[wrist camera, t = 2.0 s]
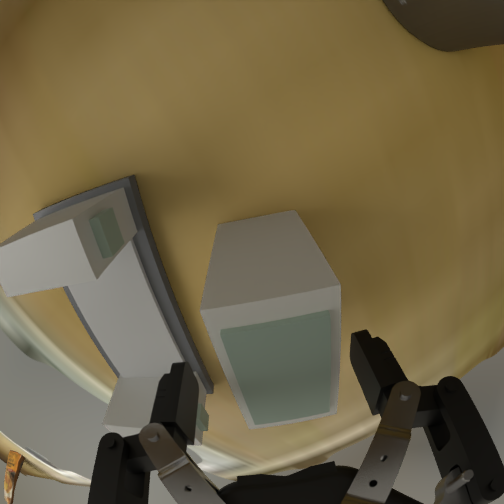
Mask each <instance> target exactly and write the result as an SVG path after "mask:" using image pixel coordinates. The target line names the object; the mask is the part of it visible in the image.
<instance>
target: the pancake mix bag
mask: <svg viewBox="0 0 504 504" xmlns="http://www.w3.org/2000/svg"><path fill="white" fill-rule="evenodd" d="M24 459H25V458H24V457H23V456H22V455H20V454H19V453H17V452H15V451H12V450H10V452H9V456H8V461H7V467H6V473H5V482H4V490H5V500H6V502H7V503H8V504H12V503H13V497H14V490H15V486H16V482H17V479H18V476H19V473H20V470H21V468H22V465H23V462H24Z"/></svg>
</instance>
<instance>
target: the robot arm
mask: <svg viewBox="0 0 504 504" xmlns="http://www.w3.org/2000/svg"><path fill="white" fill-rule="evenodd" d="M383 1H384V3H385V4H386V6H387V7H388V9H389V10H390V11H391V13H392V14H393V15H394V16H395V17H396V19H397V20H398V21H399V22H400V23H401V24H402V25H403V26H404V27H405V28H406V29H407V30H408V31H409V32H411V33H412V34H413V35H414V36H416V37H417V38H418V39H419V40H421V41H423V42H424V43H426V44H427V45H429V46H431V47H434V48H436V49H438V50H442V51H446V52H451V51H459V50H464V49H470V48H476V47H483V46H492V45H501V44H504V0H383ZM350 360H351V364H352V367H353V369H354V372H355V374H356V376H357V379H358V381H359V383H360V386H361V388H362V390H363V393H364V395H365V398H366V400H367V403H368V405H369V408H370V410H371V413H372V415H376V414H380V416H381V418H382V419H381V421H380V424H379V426H378V429H377V431H376V434H375V436H374V438H373V441H372V443H371V445H370V448H369V450H368V452H367V454H366V457H365V458H364V461H363V463H362V465H361V467H360V469H359V470H358V469H356V468H353V467H348V466H335V462H334V461H333V462H328V463H324V464H319V465H315V466H310V467H308V468H306V469H303V470H301V471H299V472H296V473H294V474H291V475H289V476H276V475H264V474H257V475H246V476H237V481H236V482H233V483H231V484H228V485H226V486H224V487H223V488H221V489H220V490H219V489H218V488H217V487H216V485H215V484H214V483H213V482H212V481H211V480H209V478H208V477H207V476H206V475H205V474H204V473H203V471H202V470H201V469H200V468H199V467H198V466H197V464H196V463H195V462H194V461H193V460H192V458H191V457H190V456H189V454H188V453H187V452H186V448H187V445H194V441H195V429H196V418H197V408H198V398H199V384H198V381H197V379H196V377H195V375H194V373H193V371H192V369H191V367H190V365H189V363H188V362H177V363H172V365H171V370H170V373H165V374H164V375H163V376H162V378H161V379H160V381H159V383H158V387H157V391H156V396H155V397H156V398H155V400H154V404H153V409H152V413H151V418H150V422H149V424H148V425H146V426H144V427H143V428H142V429H141V431H140V433H138V434H135V435H131V436H126V437H122V436H121V435H120V434H118V433H115V432H111V433H107V434H105V435H104V436H103V437H102V438H101V440H100V442H99V447H98V451H97V455H96V460H95V465H94V470H93V475H92V480H91V486H90V492H89V498H88V504H148V495H149V482H150V471H152V470H158V472H159V473H158V476H159V478H160V480H161V481H162V483H163V484H164V486H165V487H166V488H167V490H168V491H169V493H170V494H171V495H172V497H173V498H174V499H175V501H176V502H177V503H178V504H423V503H421V502H419V501H417V500H415V499H413V498H411V497H409V496H406V495H404V494H403V493H400V492H398V491H397V490H395V489H393V488H392V486H393V484H394V482H395V479H396V477H397V474H398V472H399V469H400V467H401V464H402V462H403V459H404V456H405V453H406V451H407V448H408V445H409V442H410V438H411V429H412V428H416V427H423V428H424V431H425V433H426V435H427V438H428V441H429V443H430V446H431V449H432V452H433V454H434V457H435V460H436V463H437V466H438V468H439V471H440V474H441V477H442V479H441V480H440V481H439V483H438V484H437V486H436V488H435V502H434V504H488V503H490V502H492V501H494V500H495V499H497V498H499V497H500V496H501V495H502V494H503V493H504V466H503V464H502V461H501V458H500V456H499V454H498V451H497V449H496V447H495V445H494V443H493V440H492V438H491V436H490V434H489V432H488V430H487V428H486V426H485V424H484V422H483V420H482V418H481V416H480V414H479V412H478V410H477V408H476V406H475V405H474V403H473V401H472V400H471V397H470V396H469V394H468V392H467V390H466V389H465V387H464V385H463V383H462V382H461V381H460V380H459V379H458V378H456V377H453V376H448V377H444V378H442V379H441V380H440V381H439V383H438V385H432V386H418V385H417V384H415V383H414V382H411V381H409V380H408V379H407V378H406V376H405V374H404V372H403V371H402V369H401V367H400V365H399V364H398V362H397V360H396V358H395V357H394V355H393V353H392V352H391V351H390V348H389V347H388V345H387V343H386V342H385V341H383V340H382V339H381V338H379V337H375V338H372V337H371V335H370V334H369V332H368V330H362V331H358V332H354V333H352V334H351V345H350Z"/></svg>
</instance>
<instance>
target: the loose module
mask: <svg viewBox="0 0 504 504" xmlns="http://www.w3.org/2000/svg"><path fill="white" fill-rule="evenodd" d="M200 313H201V315H202V318H203V321H204V323H205V326H206V329H207V331H208V334H209V336H210V339H211V342H212V344H213V347H214V349H215V352H216V354H217V357H218V359H219V362H220V364H221V366H222V369H223V371H224V374H225V376H226V378H227V381H228V383H229V385H230V388H231V390H232V392H233V395H234V397H235V399H236V401H237V404H238V406H239V408H240V410H241V412H242V415H243V417H244V419H245V421H246V423H247V425H248V427H249V429H256V428H264V427H272V426H278V425H285V424H291V423H296V422H302V421H307V420H312V419H316V418H321V417H325V416H329V415H334V414H337V403H338V389H339V373H340V349H341V284H340V282H339V281H338V279H337V277H336V275H335V274H334V272H333V270H332V269H331V267H330V265H329V264H328V262H327V260H326V259H325V257H324V255H323V254H322V252H321V250H320V249H319V247H318V245H317V244H316V242H315V241H314V239H313V237H312V236H311V234H310V232H309V231H308V229H307V228H306V226H305V224H304V223H303V221H302V220H301V218H300V217H299V215H298V213H297V212H296V210H292V211H286V212H280V213H275V214H270V215H264V216H259V217H254V218H249V219H243V220H238V221H233V222H228V223H223V224H218V226H217V231H216V235H215V240H214V244H213V249H212V253H211V258H210V263H209V267H208V272H207V277H206V282H205V287H204V292H203V297H202V302H201V307H200Z"/></svg>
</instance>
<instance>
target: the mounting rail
mask: <svg viewBox="0 0 504 504" xmlns="http://www.w3.org/2000/svg"><path fill="white" fill-rule="evenodd" d="M33 216H34V219H35V221H34V222H33V223H31V224H29V225H28V226H26V227H25V228H23V229H22V230H20V231H19V232H17V233H15V234H14V235H12V236H11V237H10V238H8V239H7V240H5V241H4V242H2V243H1V244H0V284H1V286H2V288H3V290H4V292H5V294H6V296H7V297H11V296H17V295H22V294H27V293H32V292H38V291H43V290H48V289H53V288H58V287H63V288H64V290H65V292H66V294H67V296H68V298H69V300H70V302H71V304H72V306H73V308H74V309H75V311H76V313H77V315H78V317H79V318H80V320H81V322H82V324H83V325H84V327H85V329H86V330H87V332H88V334H89V335H90V337H91V339H92V340H93V342H94V343H95V345H96V346H97V348H98V350H99V351H100V353H101V354H102V356H103V357H104V359H105V360H106V362H107V363H108V365H109V366H110V367H111V369H112V370H113V372H114V373H115V374H116V376H117V377H118V381H117V384H116V386H115V389H114V392H113V394H112V397H111V400H110V403H109V406H108V409H107V411H106V414H105V417H104V420H103V425H104V426H105V427H106V428H107V429H108V430H109V431H110V432H115V433H118V434H120V435H121V436H122V437H126V436H131V435H135V434H138V433H140V431H141V429H142V428H143V427H144V426H146V425H148V424H149V422H150V418H151V413H152V409H153V404H154V400H155V398H156V397H155V396H156V391H157V387H158V383H159V381H160V379H161V378H162V376H163V375H164V374H165V373H170V370H171V365H172V363H177V362H188V363H189V365H190V367H191V369H192V371H193V373H194V375H195V377H196V379H197V381H198V384H199V398H198V408H197V418H196V429H195V441H194V445H202V437H203V431H208V421H209V415H208V413H207V412H206V410H205V401H206V394H212V393H213V388H214V385H213V383H212V381H211V379H210V377H209V375H208V373H207V371H206V369H205V366H204V364H203V362H202V360H201V358H200V356H199V353H198V351H197V349H196V347H195V344H194V342H193V340H192V338H191V335H190V333H189V331H188V328H187V326H186V324H185V321H184V319H183V316H182V314H181V312H180V309H179V307H178V304H177V302H176V299H175V297H174V294H173V291H172V289H171V286H170V284H169V281H168V278H167V276H166V273H165V270H164V267H163V265H162V262H161V259H160V256H159V253H158V250H157V247H156V244H155V242H154V239H153V236H152V232H151V229H150V226H149V223H148V220H147V217H146V214H145V210H144V207H143V204H142V200H141V197H140V193H139V190H138V186H137V183H136V179H135V176H134V175H131V176H128V177H125V178H122V179H119V180H116V181H113V182H110V183H107V184H104V185H102V186H99V187H96V188H93V189H91V190H88V191H85V192H83V193H80V194H77V195H75V196H72V197H70V198H67V199H65V200H62V201H60V202H58V203H55V204H53V205H51V206H48V207H46V208H44V209H42V210H39V211H38V212H36V213H34V214H33Z"/></svg>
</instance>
